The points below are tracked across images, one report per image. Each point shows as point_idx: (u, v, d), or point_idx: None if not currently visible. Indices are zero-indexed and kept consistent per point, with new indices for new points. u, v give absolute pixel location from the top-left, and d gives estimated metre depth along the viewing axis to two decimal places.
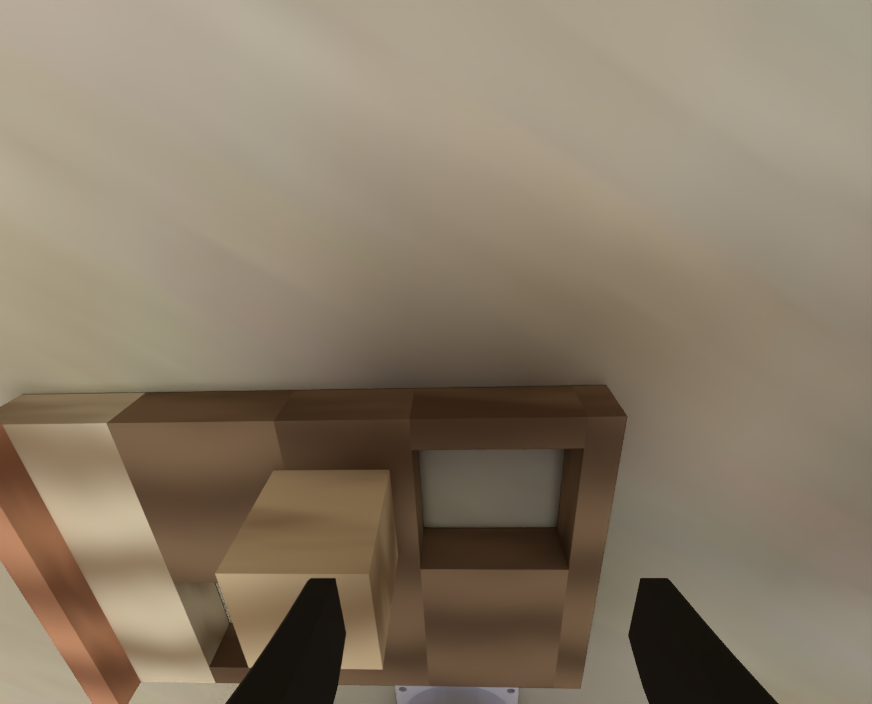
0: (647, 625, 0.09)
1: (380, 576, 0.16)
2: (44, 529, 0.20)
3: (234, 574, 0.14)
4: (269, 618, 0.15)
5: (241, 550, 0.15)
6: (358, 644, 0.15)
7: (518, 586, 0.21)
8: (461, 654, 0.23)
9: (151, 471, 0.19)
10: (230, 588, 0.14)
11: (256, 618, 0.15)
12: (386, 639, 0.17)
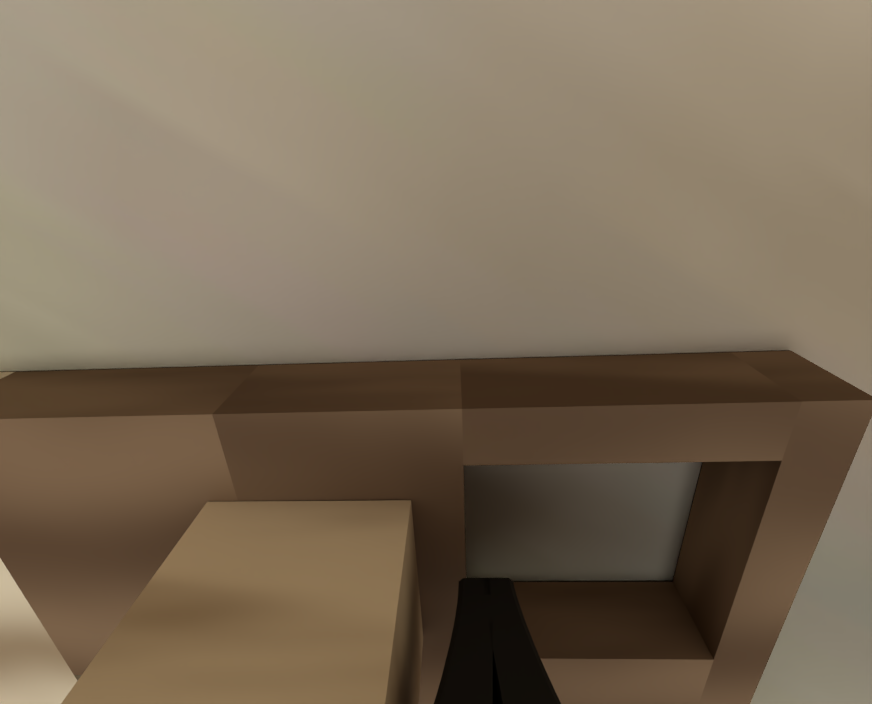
0: None
1: None
2: None
3: None
4: None
5: (100, 690, 0.07)
6: None
7: (626, 682, 0.13)
8: None
9: (8, 504, 0.11)
10: None
11: None
12: None
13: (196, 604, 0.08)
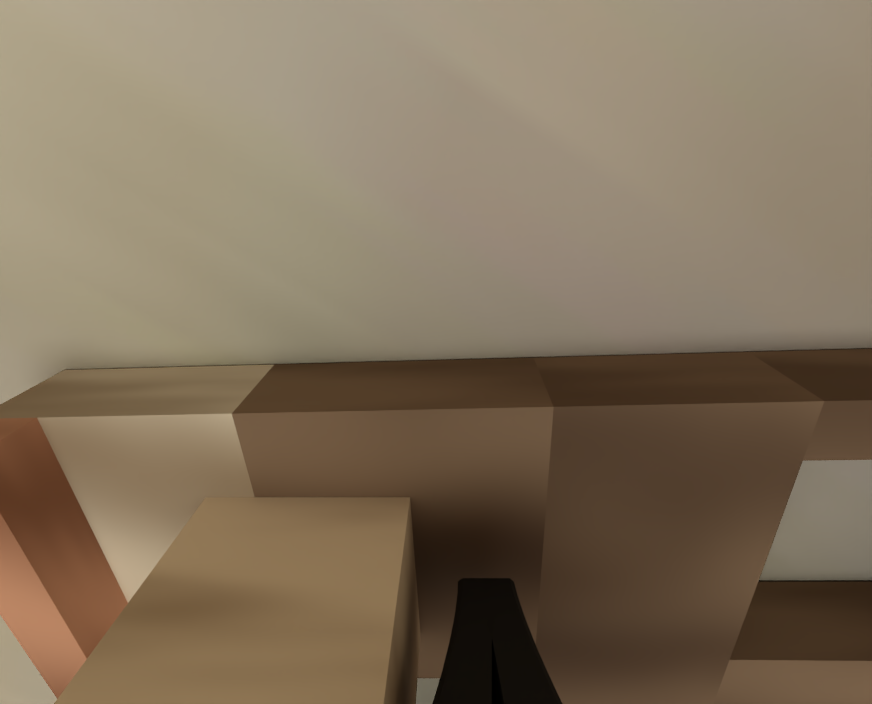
0: None
1: None
2: (104, 600, 0.11)
3: None
4: None
5: (98, 684, 0.07)
6: None
7: None
8: None
9: None
10: None
11: None
12: None
13: (195, 599, 0.08)
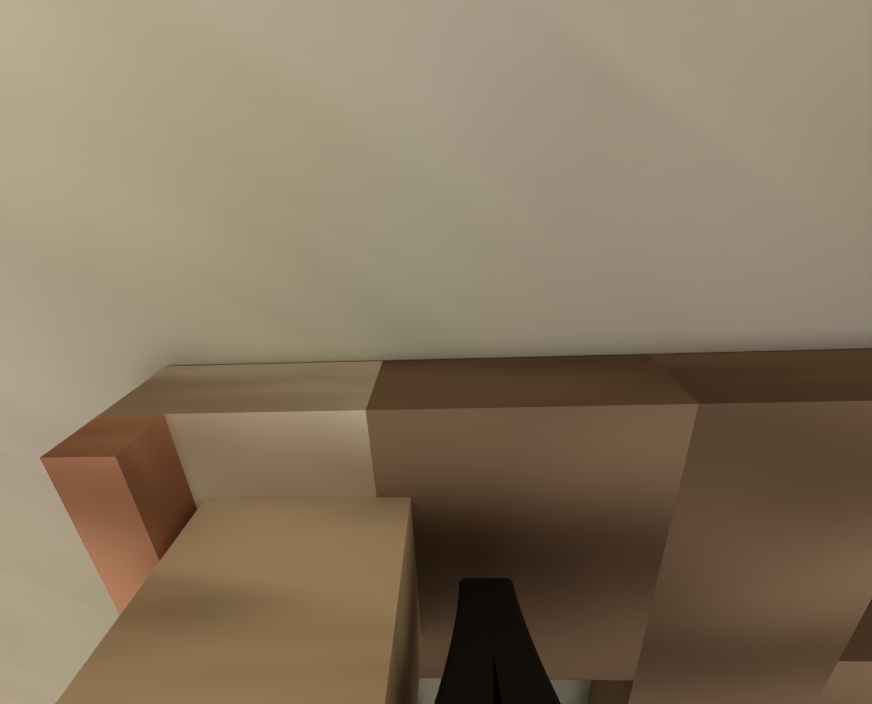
0: None
1: None
2: None
3: None
4: None
5: (98, 685, 0.07)
6: None
7: None
8: None
9: (423, 499, 0.10)
10: None
11: None
12: None
13: (195, 599, 0.08)
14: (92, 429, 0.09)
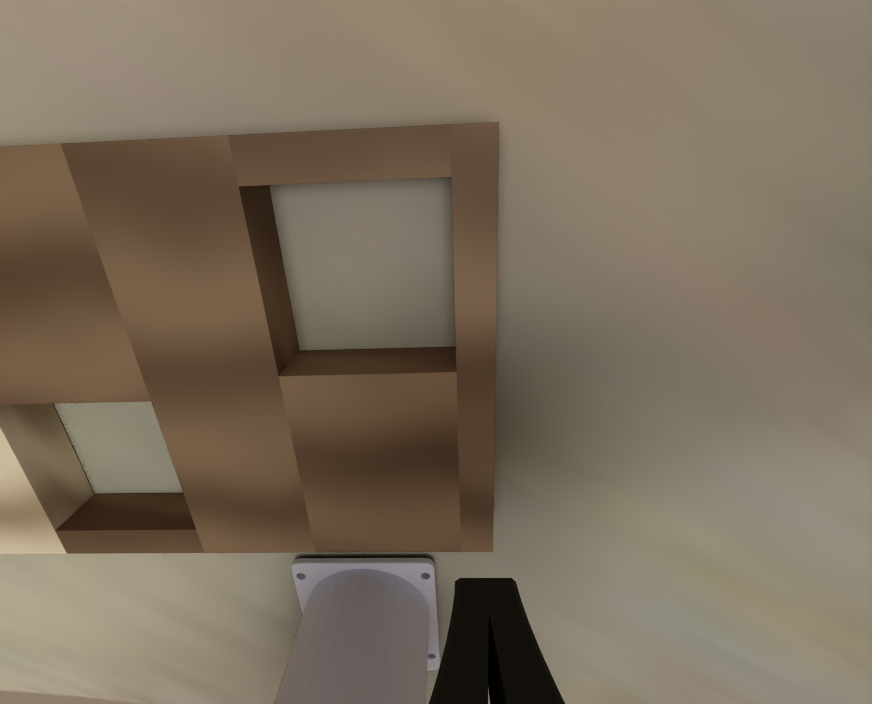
0: None
1: None
2: None
3: None
4: None
5: None
6: None
7: (399, 399, 0.17)
8: (346, 504, 0.20)
9: None
10: None
11: None
12: None
13: None
14: None
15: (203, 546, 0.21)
